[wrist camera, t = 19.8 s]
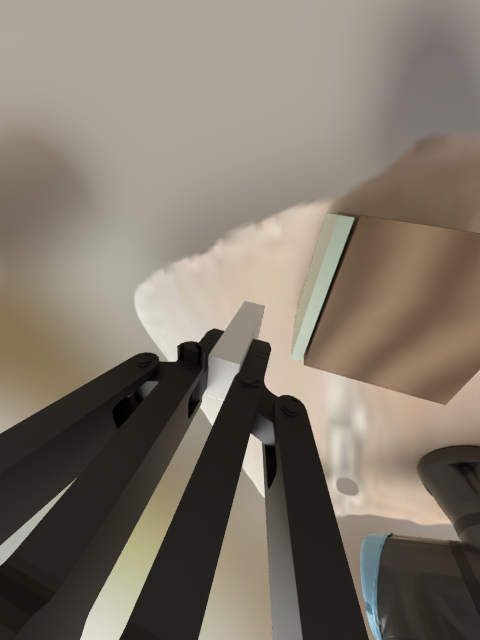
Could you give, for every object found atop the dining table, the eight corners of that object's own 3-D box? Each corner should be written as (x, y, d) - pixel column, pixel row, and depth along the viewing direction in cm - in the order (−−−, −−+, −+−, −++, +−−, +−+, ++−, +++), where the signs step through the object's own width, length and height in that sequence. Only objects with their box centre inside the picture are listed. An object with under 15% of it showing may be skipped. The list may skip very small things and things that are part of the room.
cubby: (304, 315, 34) (303, 365, 23) (338, 212, 26) (360, 215, 15) (397, 338, 31) (445, 405, 21) (465, 232, 24) (594, 250, 13)
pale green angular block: (295, 316, 33) (290, 358, 23) (326, 212, 25) (338, 215, 16) (383, 337, 30) (418, 394, 21) (446, 231, 23) (542, 246, 14)
